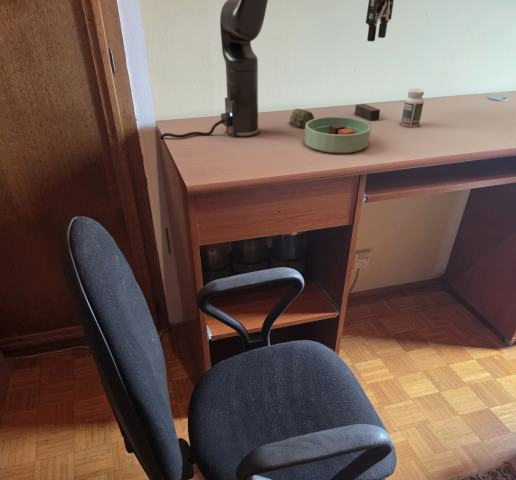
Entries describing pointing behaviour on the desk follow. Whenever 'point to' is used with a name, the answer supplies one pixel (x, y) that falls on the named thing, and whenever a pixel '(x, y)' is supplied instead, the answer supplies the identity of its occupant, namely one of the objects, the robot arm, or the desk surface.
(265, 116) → the desk surface
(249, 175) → the desk surface
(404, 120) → the pill bottle
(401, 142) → the desk surface
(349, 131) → the terracotta block
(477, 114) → the desk surface
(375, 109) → the black rectangular block
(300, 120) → the rock
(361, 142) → the bowl
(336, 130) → the walnut block
